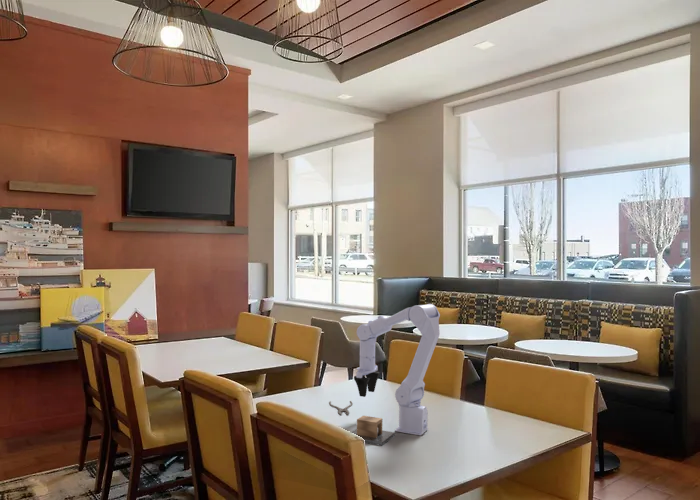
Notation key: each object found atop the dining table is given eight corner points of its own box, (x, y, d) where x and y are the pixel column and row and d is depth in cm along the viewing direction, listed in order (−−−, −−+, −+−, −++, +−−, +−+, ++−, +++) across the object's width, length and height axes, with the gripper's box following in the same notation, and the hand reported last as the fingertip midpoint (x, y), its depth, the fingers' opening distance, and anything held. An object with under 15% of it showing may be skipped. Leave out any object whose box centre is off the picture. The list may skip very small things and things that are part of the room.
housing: (382, 433, 178) (382, 418, 178) (376, 438, 174) (376, 422, 174) (363, 430, 181) (363, 415, 181) (356, 434, 177) (356, 419, 177)
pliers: (349, 399, 223) (365, 412, 204) (349, 401, 223) (365, 415, 204) (327, 401, 220) (340, 414, 201) (327, 403, 220) (340, 417, 201)
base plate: (394, 435, 179) (394, 424, 179) (381, 445, 170) (381, 434, 170) (359, 429, 185) (359, 419, 185) (345, 439, 175) (345, 428, 175)
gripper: (365, 352, 205) (365, 388, 205) (348, 359, 192) (348, 397, 192) (382, 354, 202) (382, 390, 202) (366, 360, 189) (366, 399, 189)
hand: (367, 393), depth 197 cm, fingers open, 7 cm apart
